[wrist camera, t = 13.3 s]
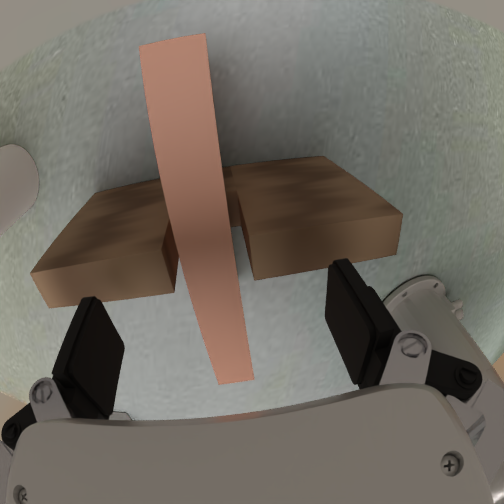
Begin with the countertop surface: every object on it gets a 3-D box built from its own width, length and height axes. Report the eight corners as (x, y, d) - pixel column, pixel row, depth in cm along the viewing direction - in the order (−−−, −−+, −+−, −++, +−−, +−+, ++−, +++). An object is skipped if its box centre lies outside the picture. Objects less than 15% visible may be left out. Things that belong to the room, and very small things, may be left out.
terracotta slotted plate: (175, 68, 18) (138, 46, 8) (207, 63, 18) (205, 33, 8) (212, 281, 29) (218, 384, 19) (237, 278, 29) (254, 379, 19)
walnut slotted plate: (323, 156, 24) (402, 213, 13) (323, 183, 25) (396, 254, 15) (95, 193, 22) (29, 273, 12) (103, 218, 24) (49, 308, 14)
